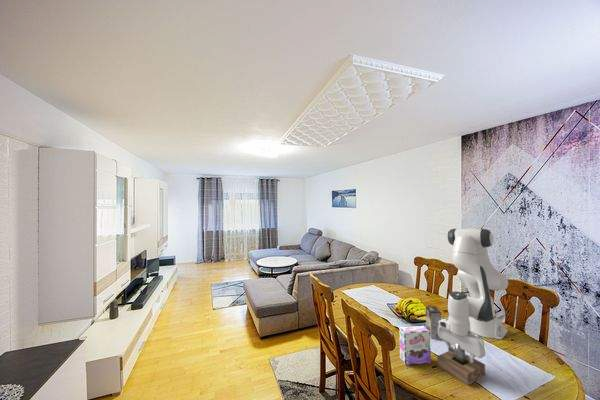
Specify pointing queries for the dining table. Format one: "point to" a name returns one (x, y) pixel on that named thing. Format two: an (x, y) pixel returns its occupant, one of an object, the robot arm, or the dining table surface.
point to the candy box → (414, 345)
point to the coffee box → (433, 321)
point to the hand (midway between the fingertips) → (460, 356)
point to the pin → (459, 355)
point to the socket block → (461, 367)
